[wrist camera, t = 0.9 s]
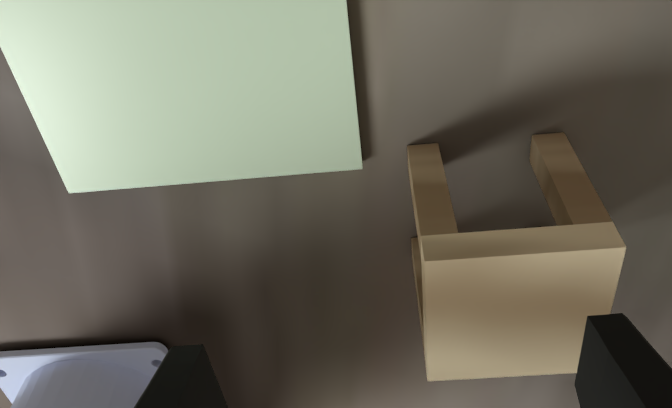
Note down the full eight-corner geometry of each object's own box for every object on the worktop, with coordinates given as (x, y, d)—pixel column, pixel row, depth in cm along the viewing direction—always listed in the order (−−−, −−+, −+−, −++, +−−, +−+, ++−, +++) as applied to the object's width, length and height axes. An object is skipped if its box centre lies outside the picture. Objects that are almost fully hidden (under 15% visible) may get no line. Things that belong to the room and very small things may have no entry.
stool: (547, 248, 23) (595, 371, 18) (411, 258, 23) (427, 381, 19) (564, 132, 20) (626, 247, 15) (406, 145, 20) (424, 261, 16)
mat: (362, 162, 20) (362, 168, 20) (72, 186, 21) (68, 193, 21) (327, -193, 14) (327, -191, 14) (-78, -142, 15) (-86, -139, 15)
